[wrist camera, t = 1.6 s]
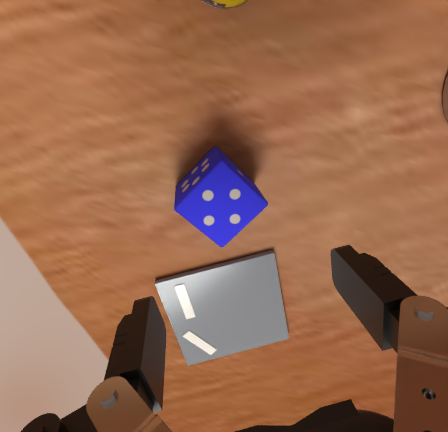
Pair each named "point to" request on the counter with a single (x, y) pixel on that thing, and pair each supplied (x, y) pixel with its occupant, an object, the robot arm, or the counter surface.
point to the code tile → (225, 307)
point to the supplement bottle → (224, 3)
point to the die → (218, 197)
